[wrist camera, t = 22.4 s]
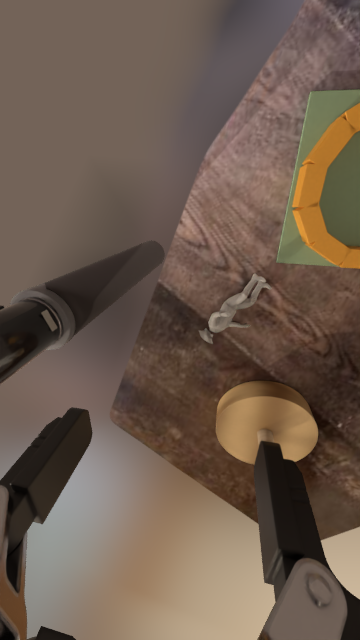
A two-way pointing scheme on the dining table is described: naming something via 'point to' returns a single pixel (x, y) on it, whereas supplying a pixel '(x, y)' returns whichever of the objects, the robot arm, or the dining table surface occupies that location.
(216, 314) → the soldier figure
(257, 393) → the ring stand
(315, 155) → the ring
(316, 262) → the mat
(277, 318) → the dining table surface
